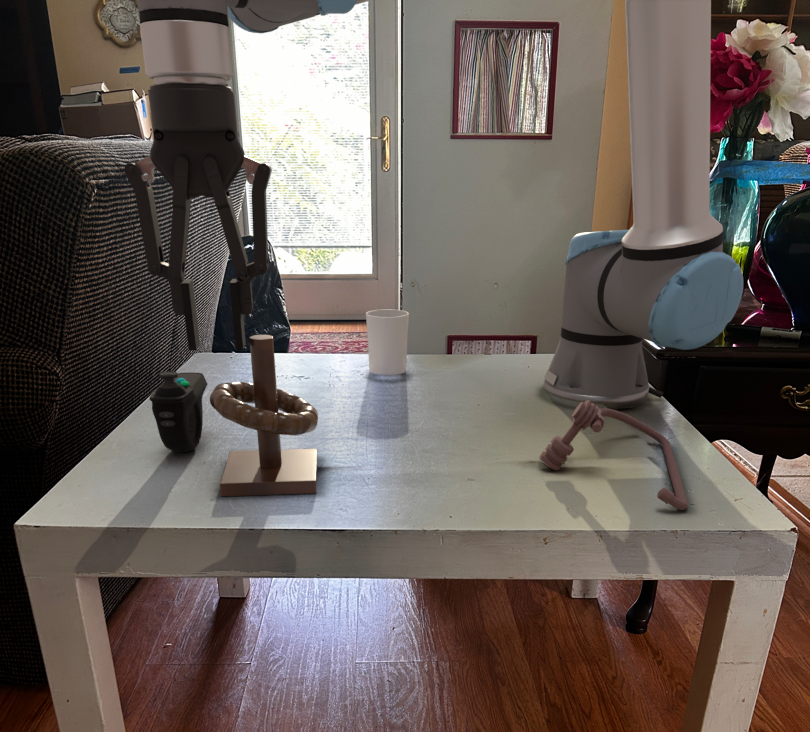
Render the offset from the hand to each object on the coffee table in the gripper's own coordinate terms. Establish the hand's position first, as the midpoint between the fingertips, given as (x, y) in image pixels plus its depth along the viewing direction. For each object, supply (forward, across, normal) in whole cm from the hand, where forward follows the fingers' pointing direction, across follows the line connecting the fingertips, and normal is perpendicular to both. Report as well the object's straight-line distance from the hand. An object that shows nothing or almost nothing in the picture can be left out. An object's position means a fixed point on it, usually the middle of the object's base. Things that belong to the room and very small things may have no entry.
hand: (217, 346), depth 80 cm
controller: (+15, +6, -11) cm, 20 cm away
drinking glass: (+15, -20, -42) cm, 49 cm away
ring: (+7, -4, 0) cm, 8 cm away
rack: (+15, -4, 0) cm, 15 cm away
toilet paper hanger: (+15, -42, +1) cm, 45 cm away
